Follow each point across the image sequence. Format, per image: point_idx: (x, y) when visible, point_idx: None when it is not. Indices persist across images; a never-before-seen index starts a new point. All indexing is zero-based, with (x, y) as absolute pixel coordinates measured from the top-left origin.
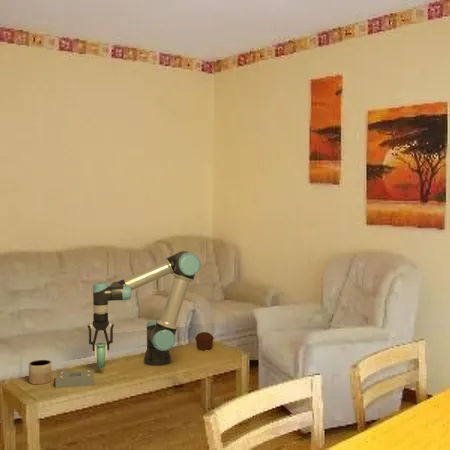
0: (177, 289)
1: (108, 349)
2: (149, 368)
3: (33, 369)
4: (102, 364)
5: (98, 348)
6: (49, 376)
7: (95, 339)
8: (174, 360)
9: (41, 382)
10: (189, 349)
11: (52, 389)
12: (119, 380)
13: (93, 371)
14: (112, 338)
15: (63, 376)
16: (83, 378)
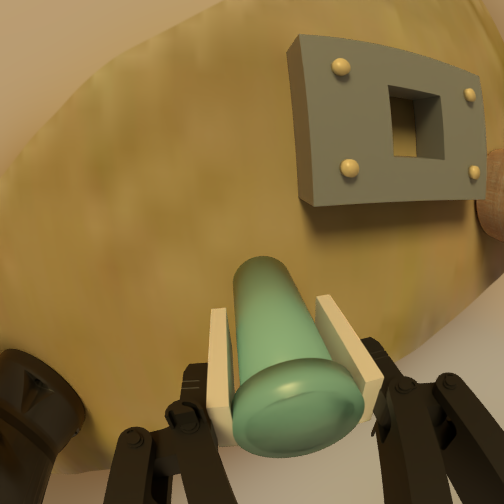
0: None
1: (193, 371)
2: (29, 322)
3: None
4: (251, 269)
5: (323, 357)
6: (497, 170)
7: (411, 446)
8: None
9: (500, 149)
10: None
11: (458, 67)
12: (128, 121)
13: (312, 165)
14: (112, 484)
15: (462, 113)
16: (362, 43)
